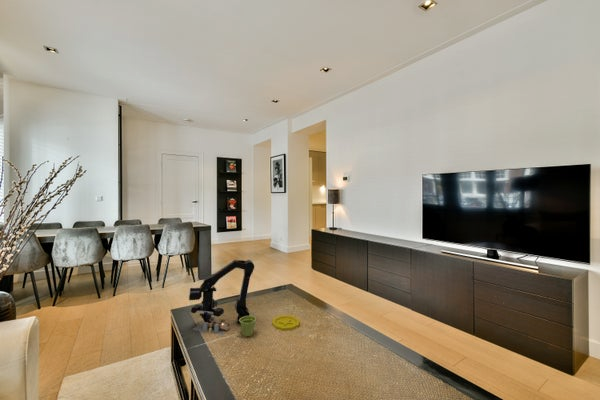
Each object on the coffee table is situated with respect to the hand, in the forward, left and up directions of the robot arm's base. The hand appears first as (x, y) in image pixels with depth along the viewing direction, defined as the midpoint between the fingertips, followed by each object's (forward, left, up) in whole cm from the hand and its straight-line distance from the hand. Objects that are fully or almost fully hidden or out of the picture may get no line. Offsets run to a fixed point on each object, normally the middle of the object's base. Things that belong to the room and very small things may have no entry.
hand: (207, 324), depth 158 cm
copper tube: (-8, 0, -2) cm, 8 cm away
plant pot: (-25, -1, -3) cm, 25 cm away
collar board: (-3, 0, -3) cm, 4 cm away
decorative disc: (-43, -19, -3) cm, 47 cm away
